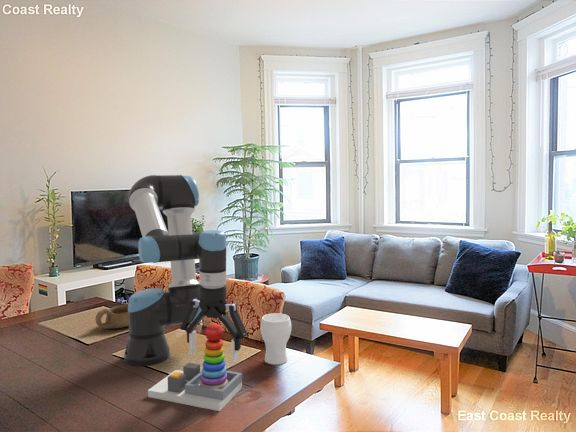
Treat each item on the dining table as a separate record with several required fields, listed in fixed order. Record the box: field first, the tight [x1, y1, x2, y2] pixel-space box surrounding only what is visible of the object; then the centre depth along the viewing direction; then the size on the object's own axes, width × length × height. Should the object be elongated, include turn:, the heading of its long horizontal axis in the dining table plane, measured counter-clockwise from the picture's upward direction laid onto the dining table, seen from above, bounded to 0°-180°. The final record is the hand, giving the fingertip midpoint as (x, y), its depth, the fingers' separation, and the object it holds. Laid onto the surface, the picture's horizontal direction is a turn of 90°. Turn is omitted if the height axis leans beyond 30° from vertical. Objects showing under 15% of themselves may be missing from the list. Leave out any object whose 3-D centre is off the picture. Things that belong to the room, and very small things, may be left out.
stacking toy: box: [200, 322, 228, 389], centre depth 126 cm, size 8×8×19 cm
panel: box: [147, 369, 243, 412], centre depth 128 cm, size 23×14×2 cm, turn 71°
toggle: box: [182, 362, 201, 381], centre depth 132 cm, size 4×3×4 cm
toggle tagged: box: [168, 371, 186, 393], centre depth 125 cm, size 4×3×5 cm
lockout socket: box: [185, 370, 243, 400], centre depth 127 cm, size 12×12×2 cm
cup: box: [259, 312, 292, 365], centre depth 150 cm, size 11×11×15 cm
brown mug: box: [94, 303, 129, 329], centre depth 183 cm, size 18×14×10 cm
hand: (213, 357), depth 126 cm, fingers open, 13 cm apart
